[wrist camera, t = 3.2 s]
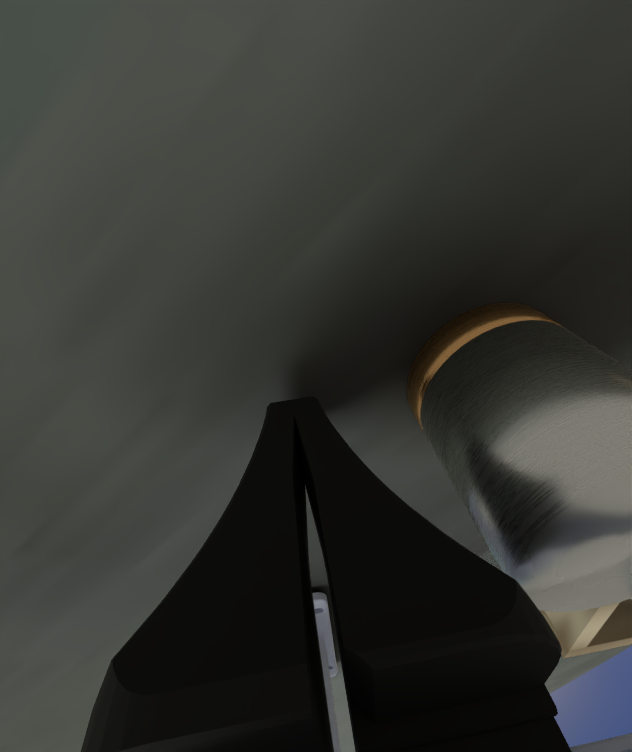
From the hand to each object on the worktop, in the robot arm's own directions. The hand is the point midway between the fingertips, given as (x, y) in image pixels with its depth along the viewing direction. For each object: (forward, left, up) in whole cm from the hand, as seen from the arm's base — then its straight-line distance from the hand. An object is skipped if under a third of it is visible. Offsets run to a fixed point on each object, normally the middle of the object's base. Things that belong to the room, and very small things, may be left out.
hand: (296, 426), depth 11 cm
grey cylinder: (0, -6, -1) cm, 6 cm away
